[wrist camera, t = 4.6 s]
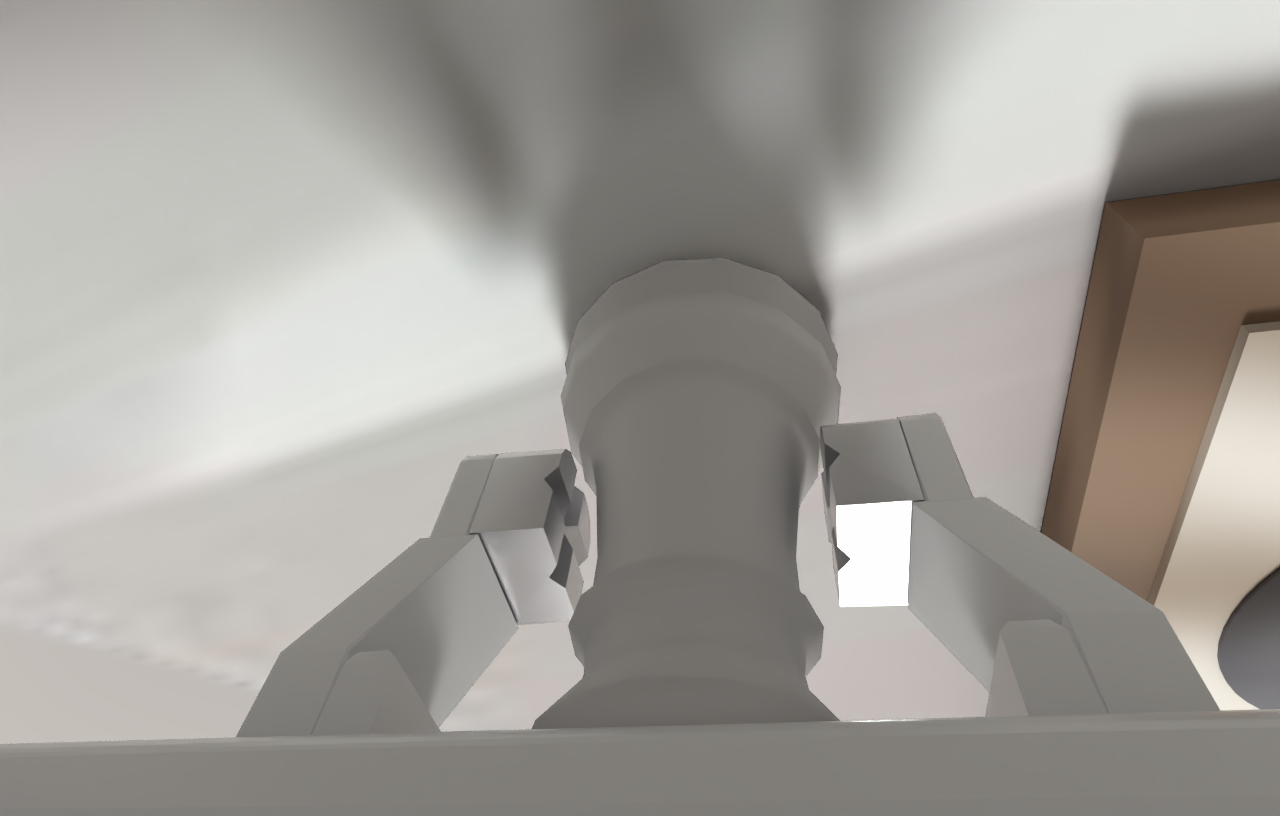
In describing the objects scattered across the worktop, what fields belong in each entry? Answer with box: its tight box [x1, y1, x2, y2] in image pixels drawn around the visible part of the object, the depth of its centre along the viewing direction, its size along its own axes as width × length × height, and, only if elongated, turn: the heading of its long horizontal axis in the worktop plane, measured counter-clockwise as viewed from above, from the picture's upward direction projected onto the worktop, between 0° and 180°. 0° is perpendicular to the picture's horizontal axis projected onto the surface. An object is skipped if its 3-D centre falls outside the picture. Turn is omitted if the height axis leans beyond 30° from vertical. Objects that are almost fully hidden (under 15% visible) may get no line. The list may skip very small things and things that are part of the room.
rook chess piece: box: [532, 258, 841, 729], centre depth 10 cm, size 4×4×8 cm
